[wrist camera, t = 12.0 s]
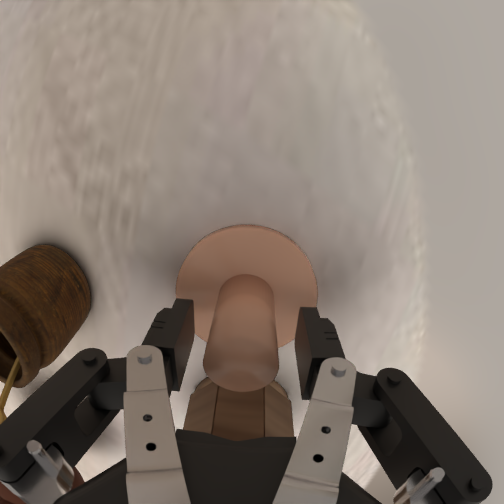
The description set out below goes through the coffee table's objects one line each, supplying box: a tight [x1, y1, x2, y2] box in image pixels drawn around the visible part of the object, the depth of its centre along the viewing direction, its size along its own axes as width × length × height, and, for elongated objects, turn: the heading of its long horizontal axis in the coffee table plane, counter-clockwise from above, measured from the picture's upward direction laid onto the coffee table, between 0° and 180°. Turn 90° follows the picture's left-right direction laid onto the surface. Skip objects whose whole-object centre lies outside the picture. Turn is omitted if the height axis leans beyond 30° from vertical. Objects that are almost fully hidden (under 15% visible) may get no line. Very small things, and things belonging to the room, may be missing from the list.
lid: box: [176, 225, 318, 392], centre depth 14 cm, size 7×7×6 cm
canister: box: [183, 377, 294, 441], centre depth 16 cm, size 6×6×9 cm
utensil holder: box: [0, 245, 91, 424], centre depth 11 cm, size 6×6×12 cm
